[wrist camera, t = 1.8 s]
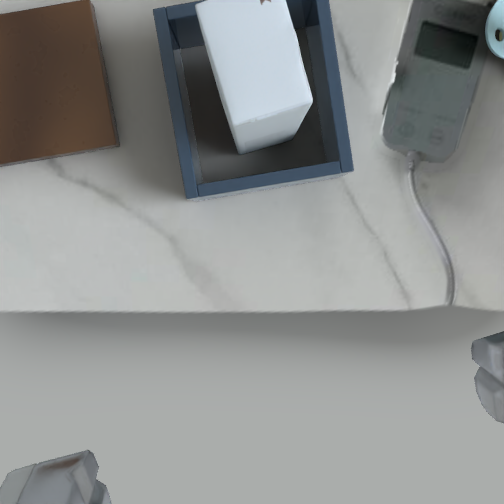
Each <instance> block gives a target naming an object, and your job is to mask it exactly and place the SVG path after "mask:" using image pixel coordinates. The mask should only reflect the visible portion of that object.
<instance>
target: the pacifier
mask: <svg viewBox="0 0 504 504" xmlns="http://www.w3.org/2000/svg"><path fill="white" fill-rule="evenodd" d="M496 30H500V34H499V40H500V41H497V40H496V38H495V31H496ZM485 37H486V42H487V45H488V47H489V49H490V50H491V52H492V53H493V54H495V55H496V56H497V57H500V58H502V59H504V0H496V3H495V4H494V5H493V7H492V9H491V10H490V12H489V15H488V18H487V21H486V27H485Z"/></svg>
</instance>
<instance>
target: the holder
mask: <svg viewBox="0 0 504 504" xmlns="http://www.w3.org/2000/svg"><path fill="white" fill-rule="evenodd" d="M203 1H206V0H202V1H196V2H191V3H185V4H179V5H173V6H168V7H166V8H165V7H162V8H157V9H153V15H154V20H155V26H156V32H157V37H158V43H159V49H160V54H161V60H162V65H163V71H164V77H165V82H166V88H167V94H168V99H169V105H170V111H171V116H172V122H173V128H174V133H175V139H176V144H177V150H178V156H179V161H180V167H181V173H182V178H183V184H184V190H185V195H186V199H189V200H193V201H203V200H206V199H207V200H209V199H215V198H221V197H226V196H232V195H238V194H244V193H250V192H256V191H262V190H268V189H274V188H280V187H286V186H292V185H298V184H304V183H310V182H316V181H322V180H327V179H334V178H339V177H341V176H343V175H346V174H348V173H350V172H353V171H354V167H353V160H352V154H351V147H350V140H349V133H348V126H347V120H346V113H345V106H344V99H343V92H342V86H341V79H340V72H339V65H338V59H337V52H336V45H335V38H334V31H333V25H332V18H331V11H330V4H329V0H286V3H287V7H288V10H289V13H290V17H291V20H292V24H293V27H294V29H299V28H304V27H306V34H307V41H308V47H309V54H310V60H311V67H312V73H313V80H314V87H315V93H316V100H317V106H318V113H319V119H320V126H321V133H322V139H323V146H324V152H325V159H326V163H322V164H316V165H310V166H304V167H298V168H292V169H287V170H281V171H275V172H269V173H263V174H257V175H251V176H245V177H239V178H233V179H227V180H221V181H215V182H209V183H203V177H202V171H201V166H200V160H199V154H198V148H197V143H196V137H195V131H194V125H193V120H192V114H191V108H190V102H189V97H188V91H187V85H186V79H185V74H184V68H183V62H182V56H181V50H180V48H181V49H183V48H189V47H194V46H200V45H205V43H204V39H203V35H202V32H201V28H200V24H199V20H198V16H197V13H196V9H195V5H196V4H197V3H200V2H203Z"/></svg>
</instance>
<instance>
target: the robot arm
mask: <svg viewBox="0 0 504 504" xmlns="http://www.w3.org/2000/svg"><path fill="white" fill-rule="evenodd" d="M471 352H472V359H473V360H474V361H475V362H476V363H477V364H478V365H479V366H480V367H479V369H478V371H477V373H476V375H475V377H474V380H475V386H476V392H477V394H478V397H479V399H480V401H481V404H482V405H483V407H484V408H485V409H486V411H487V412H488V414H490V415H491V416H492V417H493V418H494V419H495V420H496V421H498V422H502V423H504V331H503V332H500V333H497V334H494V335H490V336H487V337H484V338H481V339H478V340H474V341H473V343H472V347H471ZM98 469H99V466H98V464H97V461H96V459H95V457H94V454H93V453H92V452H90V451H89V450H86V451H82V452H78V453H74V454H71V455H67V456H63V457H59V458H56V459H52V460H48V461H44V462H41V463H38V464H32V465H29V466H26V467H22V468H19V469H15V470H13V471H11V472H10V473H8V474H7V476H6V478H5V480H4V482H3V484H2V486H1V487H0V504H111V500H110V496H109V493H108V490H107V487H106V485H104V484H103V483H101V482H100V481H98V480H96V476H97V472H98Z"/></svg>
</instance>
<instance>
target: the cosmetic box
mask: <svg viewBox="0 0 504 504" xmlns="http://www.w3.org/2000/svg"><path fill="white" fill-rule="evenodd" d="M195 9H196V13H197V16H198V20H199V24H200V28H201V32H202V35H203V39H204V43H205V46H206V50H207V53H208V57H209V60H210V64H211V67H212V71H213V74H214V78H215V81H216V85H217V88H218V91H219V95H220V98H221V101H222V104H223V108H224V111H225V114H226V117H227V120H228V123H229V126H230V129H231V132H232V135H233V138H234V141H235V144H236V147H237V150H238V153H239V155H242V154H245V153H248V152H252V151H255V150H259V149H262V148H266V147H269V146H273V145H276V144H279V143H283V142H286V141H289V140H292V139H293V137H294V136H295V134H296V132H297V130H298V128H299V126H300V124H301V123H302V121H303V119H304V117H305V115H306V113H307V111H308V110H309V108H310V106H311V105H312V103H313V97H312V94H311V90H310V87H309V83H308V80H307V76H306V72H305V69H304V65H303V61H302V57H301V53H300V48H299V43H298V39H297V36H296V33H295V30H294V27H293V24H292V20H291V17H290V13H289V10H288V7H287V3H286V0H206V1H203V2H200V3H197V4H196V5H195Z"/></svg>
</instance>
